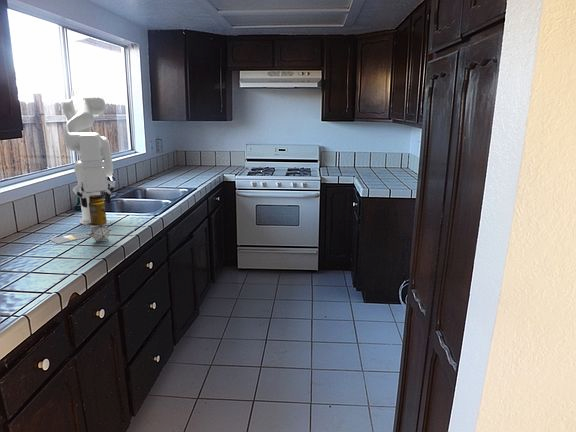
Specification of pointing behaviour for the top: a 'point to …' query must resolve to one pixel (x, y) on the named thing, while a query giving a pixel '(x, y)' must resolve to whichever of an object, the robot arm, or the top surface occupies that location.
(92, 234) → the game die
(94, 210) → the condiment
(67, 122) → the robot arm
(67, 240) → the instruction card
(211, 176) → the top surface
